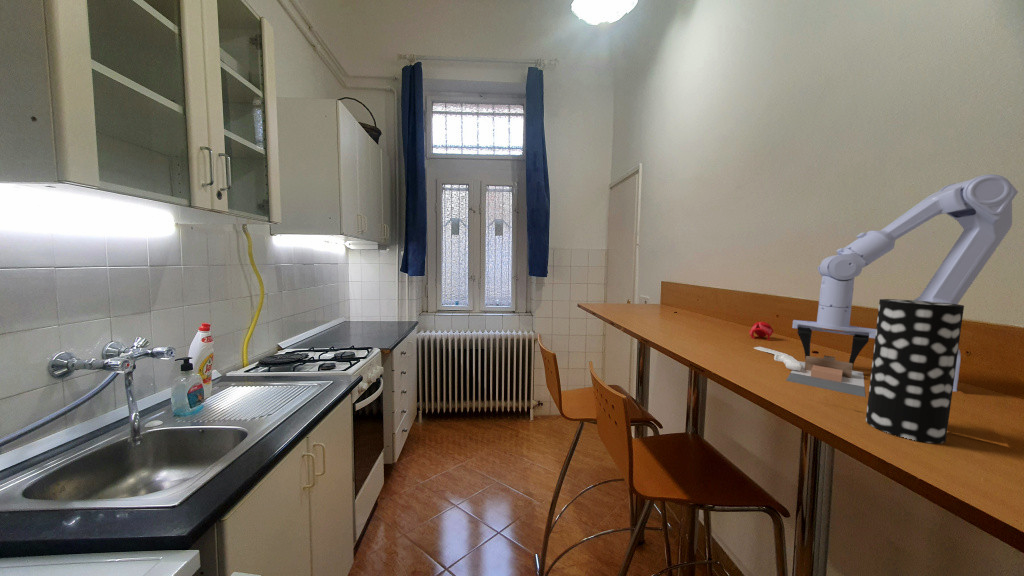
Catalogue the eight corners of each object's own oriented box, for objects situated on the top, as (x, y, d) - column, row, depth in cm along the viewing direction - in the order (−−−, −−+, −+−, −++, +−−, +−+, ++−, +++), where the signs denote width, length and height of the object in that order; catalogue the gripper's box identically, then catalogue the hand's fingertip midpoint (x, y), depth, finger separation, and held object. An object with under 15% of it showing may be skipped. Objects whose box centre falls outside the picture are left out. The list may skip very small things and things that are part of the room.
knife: (746, 341, 110) (777, 343, 107) (746, 346, 110) (777, 349, 107) (762, 360, 84) (803, 364, 80) (762, 367, 84) (803, 371, 80)
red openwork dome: (775, 333, 114) (778, 321, 117) (755, 324, 116) (758, 314, 120) (764, 348, 119) (767, 337, 122) (745, 340, 122) (748, 329, 125)
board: (862, 374, 82) (863, 372, 82) (865, 399, 67) (865, 396, 67) (797, 362, 91) (797, 360, 91) (785, 382, 75) (786, 380, 75)
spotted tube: (938, 429, 55) (955, 303, 53) (952, 450, 49) (972, 307, 47) (863, 413, 60) (876, 298, 59) (867, 429, 54) (882, 301, 52)
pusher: (851, 372, 82) (852, 359, 82) (851, 378, 78) (852, 365, 77) (806, 364, 87) (808, 352, 87) (804, 369, 83) (805, 357, 83)
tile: (841, 377, 78) (842, 370, 78) (841, 382, 75) (842, 374, 75) (812, 371, 82) (813, 364, 82) (810, 376, 78) (811, 369, 78)
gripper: (878, 308, 80) (871, 366, 81) (797, 301, 90) (791, 353, 91) (879, 311, 75) (872, 372, 76) (793, 303, 85) (788, 358, 86)
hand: (828, 362), depth 83 cm, fingers open, 7 cm apart
